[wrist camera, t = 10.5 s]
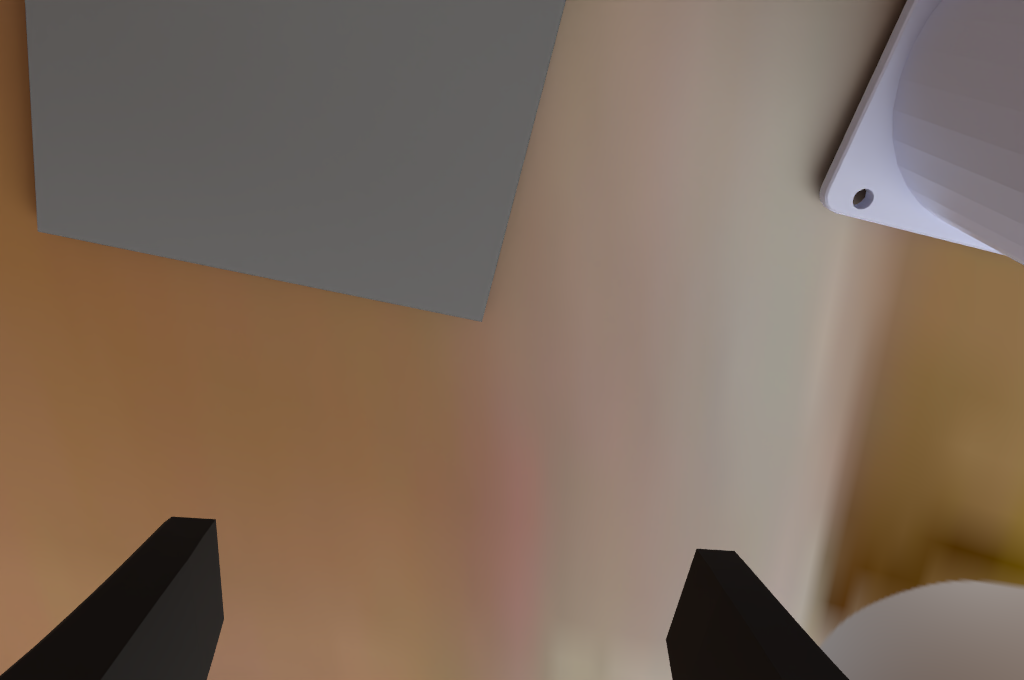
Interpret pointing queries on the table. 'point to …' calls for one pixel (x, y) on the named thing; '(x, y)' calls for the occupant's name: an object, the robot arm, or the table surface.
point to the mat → (292, 135)
